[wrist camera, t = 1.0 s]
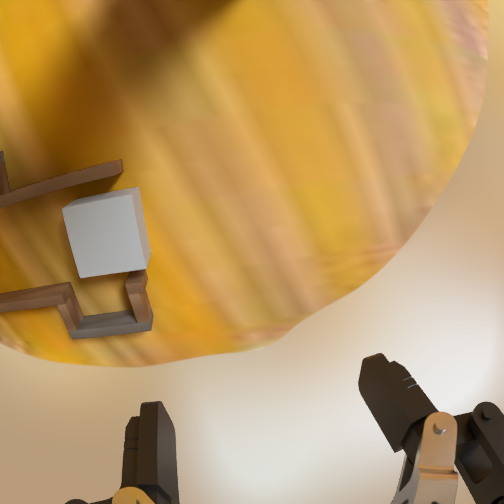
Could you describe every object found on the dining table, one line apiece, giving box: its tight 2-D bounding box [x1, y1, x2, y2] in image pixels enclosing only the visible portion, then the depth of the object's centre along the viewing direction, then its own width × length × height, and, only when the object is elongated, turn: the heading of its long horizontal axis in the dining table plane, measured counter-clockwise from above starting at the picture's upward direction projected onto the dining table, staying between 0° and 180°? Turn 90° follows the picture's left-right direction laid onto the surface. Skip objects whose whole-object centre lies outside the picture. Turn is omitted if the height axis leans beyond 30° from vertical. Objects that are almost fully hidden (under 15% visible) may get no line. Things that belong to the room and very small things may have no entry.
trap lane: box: [0, 151, 154, 340], centre depth 22 cm, size 19×22×2 cm
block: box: [62, 187, 151, 278], centre depth 23 cm, size 6×6×4 cm
